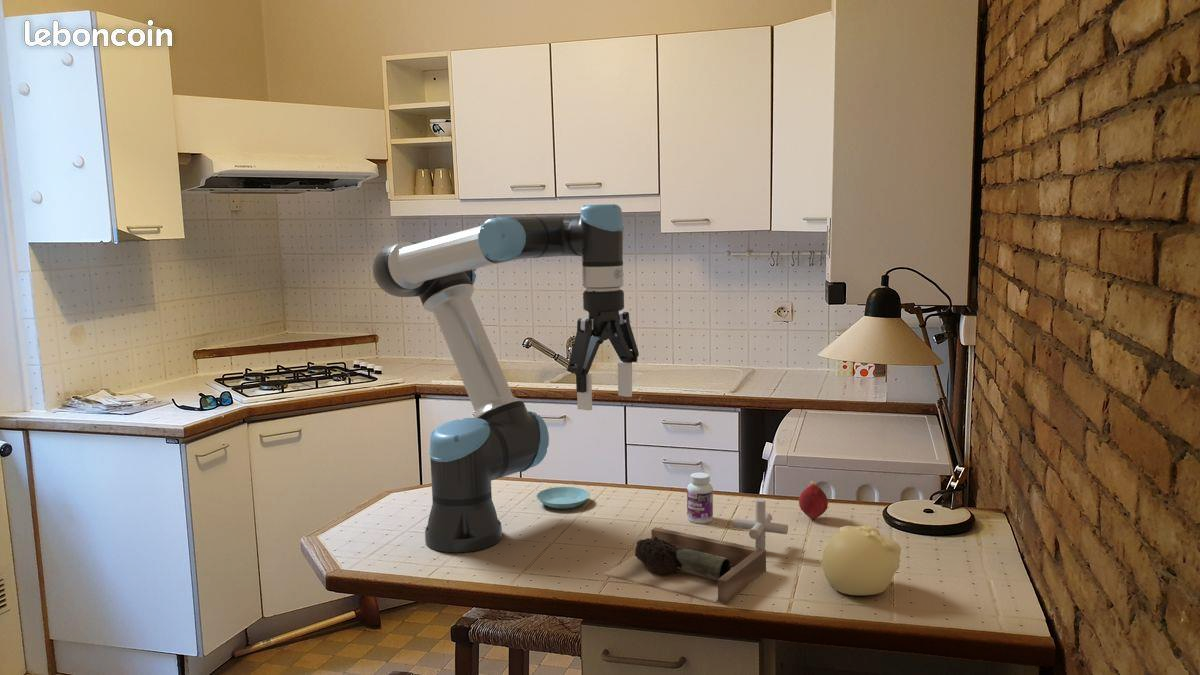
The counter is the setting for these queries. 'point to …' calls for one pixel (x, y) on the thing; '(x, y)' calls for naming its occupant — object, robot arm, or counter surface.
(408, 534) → the counter surface
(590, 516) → the counter surface
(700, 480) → the pill bottle
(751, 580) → the corner wall
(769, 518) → the pipe connector
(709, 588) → the mat
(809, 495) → the onion
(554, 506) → the saucer
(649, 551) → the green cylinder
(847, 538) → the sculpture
